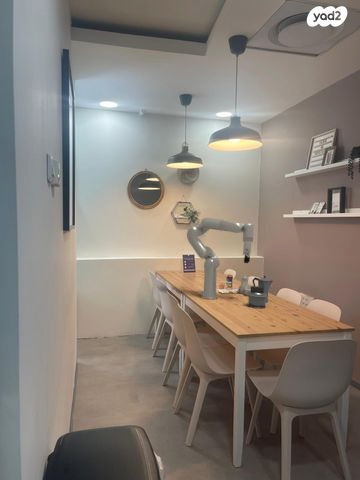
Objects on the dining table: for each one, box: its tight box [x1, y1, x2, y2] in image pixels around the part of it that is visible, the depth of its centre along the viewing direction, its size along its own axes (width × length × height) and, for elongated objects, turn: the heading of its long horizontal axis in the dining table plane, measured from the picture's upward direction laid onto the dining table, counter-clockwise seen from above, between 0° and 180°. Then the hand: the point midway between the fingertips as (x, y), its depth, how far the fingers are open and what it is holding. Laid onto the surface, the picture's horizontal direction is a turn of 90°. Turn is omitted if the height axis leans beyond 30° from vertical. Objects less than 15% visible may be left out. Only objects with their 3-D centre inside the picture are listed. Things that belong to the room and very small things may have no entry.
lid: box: [248, 285, 266, 296], centre depth 248 cm, size 13×13×5 cm
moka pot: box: [252, 275, 274, 304], centre depth 266 cm, size 10×15×20 cm, turn 78°
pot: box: [247, 294, 267, 309], centre depth 249 cm, size 13×13×9 cm
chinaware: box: [237, 274, 252, 297], centre depth 295 cm, size 28×17×17 cm, turn 160°
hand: (246, 262), depth 260 cm, fingers open, 9 cm apart
